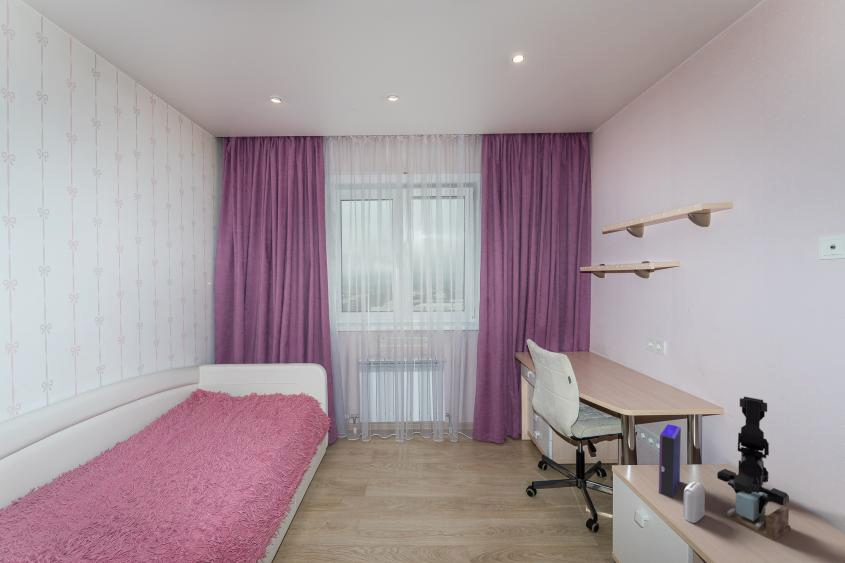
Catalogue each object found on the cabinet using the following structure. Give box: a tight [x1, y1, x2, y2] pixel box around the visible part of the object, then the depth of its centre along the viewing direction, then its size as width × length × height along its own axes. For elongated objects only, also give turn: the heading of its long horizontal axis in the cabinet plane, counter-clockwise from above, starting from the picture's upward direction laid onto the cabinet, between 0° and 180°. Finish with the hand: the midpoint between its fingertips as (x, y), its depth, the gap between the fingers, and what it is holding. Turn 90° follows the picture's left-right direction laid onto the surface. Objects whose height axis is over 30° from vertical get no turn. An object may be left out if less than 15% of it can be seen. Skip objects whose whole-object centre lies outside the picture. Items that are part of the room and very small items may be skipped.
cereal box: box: [658, 424, 682, 499], centre depth 148 cm, size 17×5×24 cm, turn 136°
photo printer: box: [682, 481, 706, 524], centre depth 129 cm, size 10×4×12 cm, turn 123°
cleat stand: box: [722, 505, 791, 541], centre depth 127 cm, size 14×14×7 cm
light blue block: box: [735, 491, 767, 521], centre depth 128 cm, size 10×5×7 cm, turn 117°
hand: (750, 508), depth 128 cm, fingers closed on light blue block, 5 cm apart
